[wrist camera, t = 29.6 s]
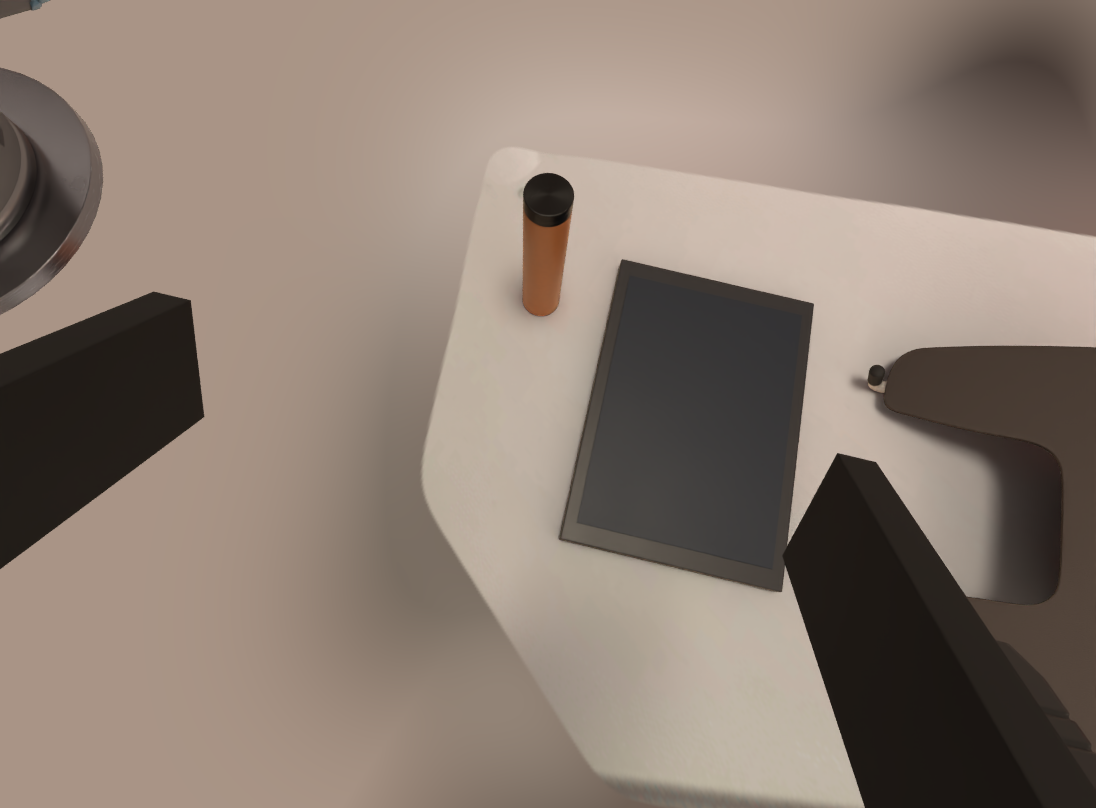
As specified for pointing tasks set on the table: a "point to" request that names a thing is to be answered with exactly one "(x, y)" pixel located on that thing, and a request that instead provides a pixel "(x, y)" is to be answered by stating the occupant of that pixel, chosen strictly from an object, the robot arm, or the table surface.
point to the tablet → (693, 427)
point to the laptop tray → (1086, 484)
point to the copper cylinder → (545, 240)
